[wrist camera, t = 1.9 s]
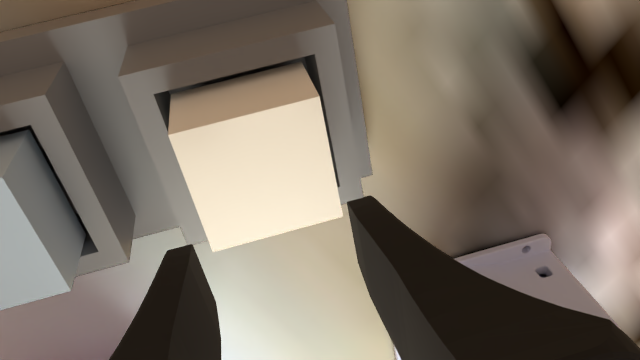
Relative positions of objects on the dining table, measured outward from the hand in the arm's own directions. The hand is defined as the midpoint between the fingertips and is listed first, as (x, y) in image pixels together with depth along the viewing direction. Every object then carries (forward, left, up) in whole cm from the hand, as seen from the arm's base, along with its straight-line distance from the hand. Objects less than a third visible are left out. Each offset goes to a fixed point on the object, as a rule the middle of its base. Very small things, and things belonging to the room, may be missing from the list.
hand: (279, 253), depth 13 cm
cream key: (0, 0, -7) cm, 7 cm away
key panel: (+5, 0, -10) cm, 11 cm away
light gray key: (+9, 0, -7) cm, 11 cm away
